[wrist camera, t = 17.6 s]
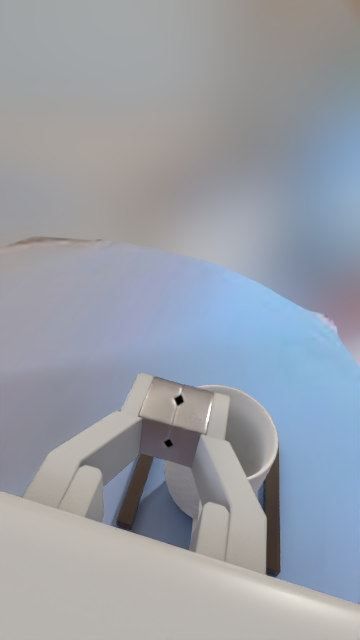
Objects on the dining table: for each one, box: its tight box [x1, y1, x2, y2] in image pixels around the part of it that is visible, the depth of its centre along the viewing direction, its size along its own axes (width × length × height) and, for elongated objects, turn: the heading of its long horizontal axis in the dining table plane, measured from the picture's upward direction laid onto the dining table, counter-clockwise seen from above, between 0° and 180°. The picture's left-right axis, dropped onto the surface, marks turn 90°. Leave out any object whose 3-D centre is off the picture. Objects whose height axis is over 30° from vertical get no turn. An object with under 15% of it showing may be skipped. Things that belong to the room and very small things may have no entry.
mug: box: [163, 385, 278, 538], centre depth 35 cm, size 15×11×13 cm
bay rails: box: [117, 444, 280, 576], centre depth 41 cm, size 18×16×1 cm
